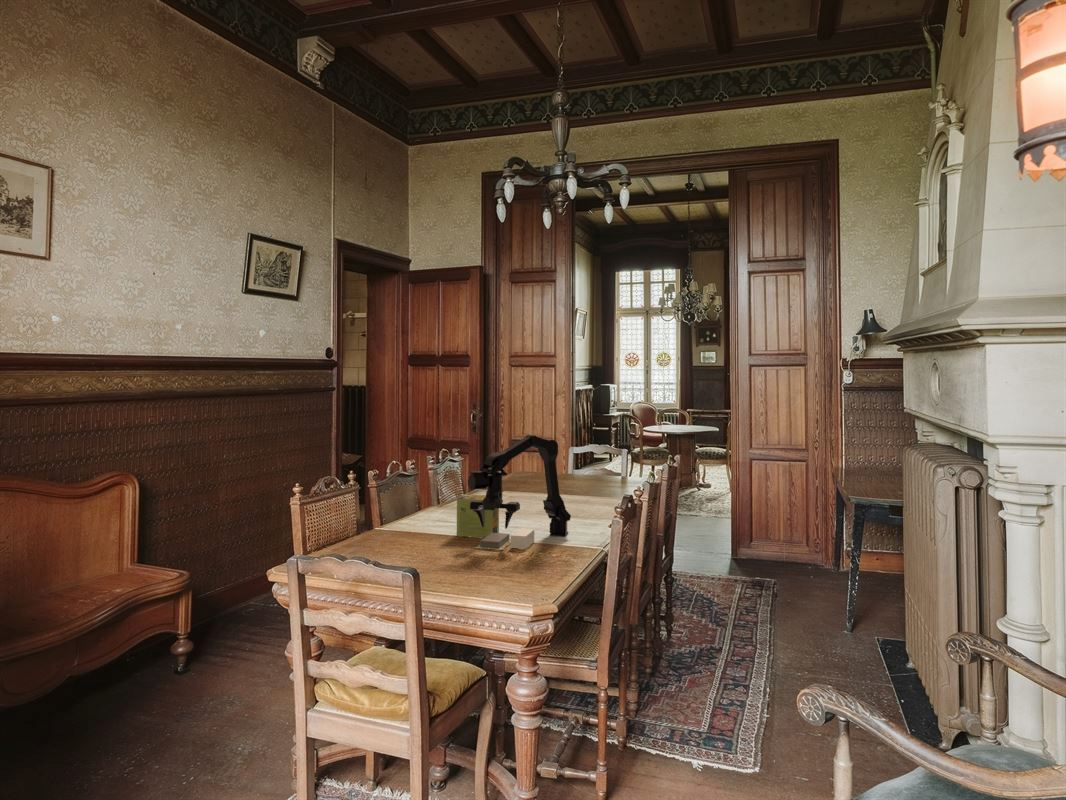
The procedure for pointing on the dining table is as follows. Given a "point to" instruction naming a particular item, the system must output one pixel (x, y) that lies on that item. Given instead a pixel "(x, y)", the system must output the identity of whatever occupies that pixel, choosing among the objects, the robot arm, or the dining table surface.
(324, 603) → the dining table surface
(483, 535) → the protein box
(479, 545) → the mat
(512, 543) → the box
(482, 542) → the lid
